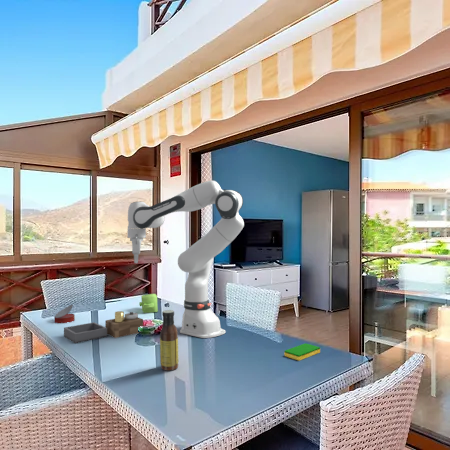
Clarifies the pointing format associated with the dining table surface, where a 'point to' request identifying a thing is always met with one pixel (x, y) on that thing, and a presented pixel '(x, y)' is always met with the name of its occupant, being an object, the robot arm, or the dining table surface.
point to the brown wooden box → (124, 325)
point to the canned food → (64, 315)
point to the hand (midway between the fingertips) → (136, 262)
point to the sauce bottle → (168, 342)
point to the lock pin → (119, 316)
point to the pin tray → (85, 332)
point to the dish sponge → (302, 351)
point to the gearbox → (149, 303)
